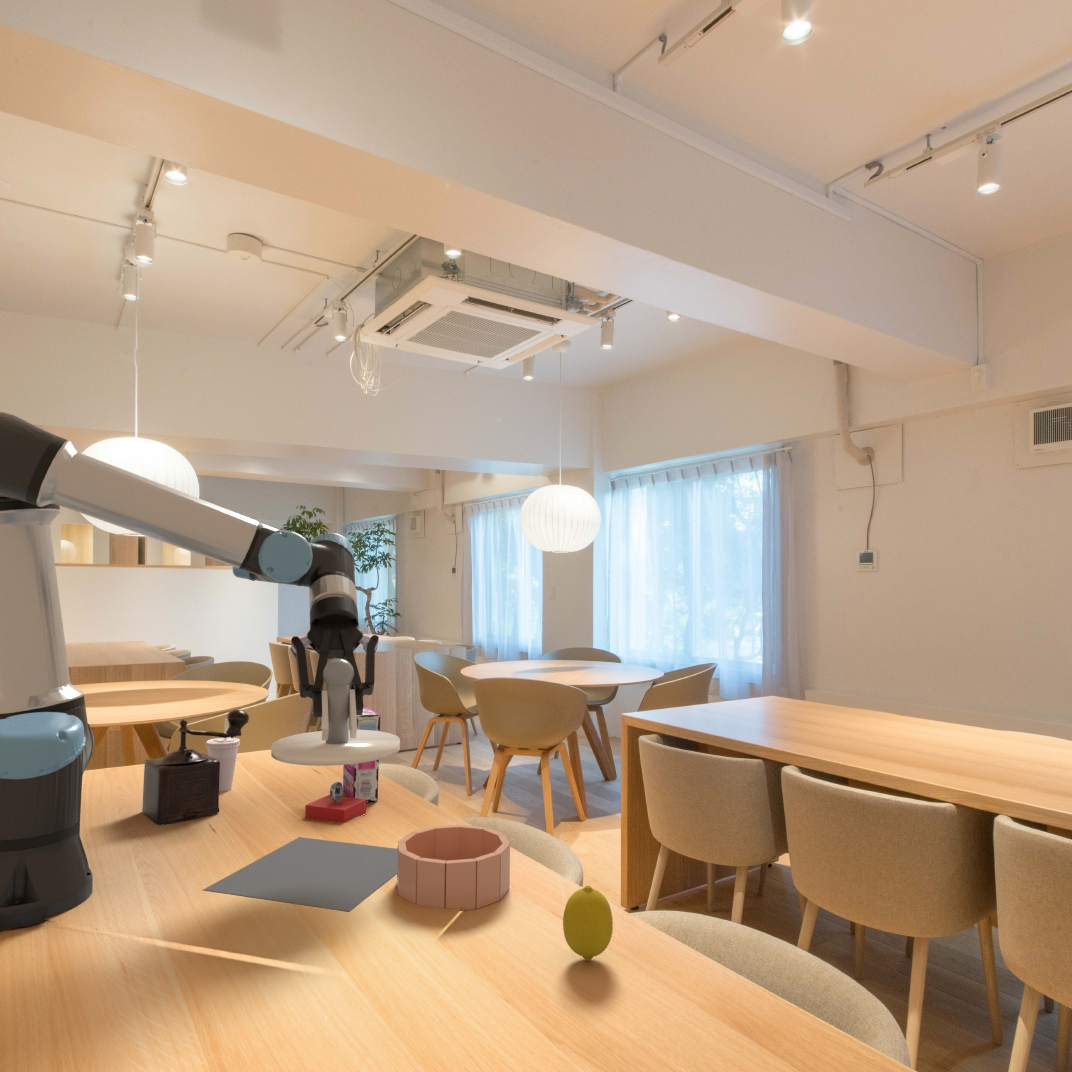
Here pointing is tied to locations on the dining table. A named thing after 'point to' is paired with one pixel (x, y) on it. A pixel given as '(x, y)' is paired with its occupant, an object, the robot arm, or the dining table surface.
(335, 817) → the red rectangular block
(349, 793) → the candy bar box
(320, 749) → the lid
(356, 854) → the mat
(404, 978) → the dining table surface
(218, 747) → the smoothie
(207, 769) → the coffee grinder
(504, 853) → the bowl
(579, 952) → the lemon
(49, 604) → the robot arm
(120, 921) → the dining table surface
